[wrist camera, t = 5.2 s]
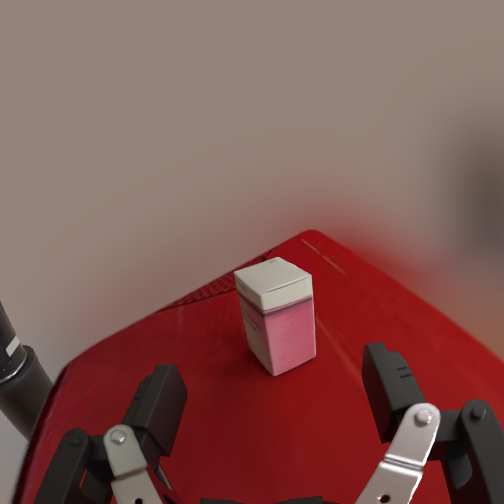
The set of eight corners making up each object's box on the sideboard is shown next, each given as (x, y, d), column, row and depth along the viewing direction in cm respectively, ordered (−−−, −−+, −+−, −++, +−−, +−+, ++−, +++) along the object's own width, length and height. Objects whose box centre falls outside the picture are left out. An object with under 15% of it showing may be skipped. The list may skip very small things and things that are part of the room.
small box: (247, 347, 25) (230, 270, 23) (288, 330, 27) (278, 254, 24) (273, 379, 21) (258, 294, 18) (318, 357, 22) (313, 273, 20)
